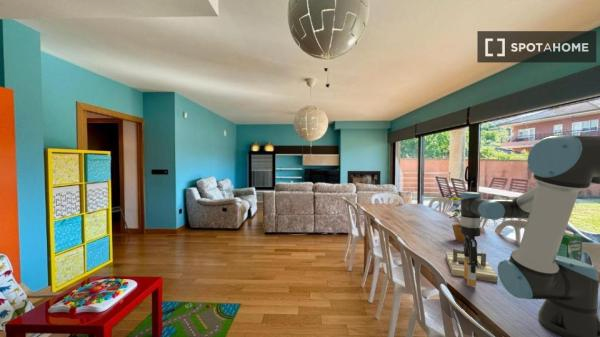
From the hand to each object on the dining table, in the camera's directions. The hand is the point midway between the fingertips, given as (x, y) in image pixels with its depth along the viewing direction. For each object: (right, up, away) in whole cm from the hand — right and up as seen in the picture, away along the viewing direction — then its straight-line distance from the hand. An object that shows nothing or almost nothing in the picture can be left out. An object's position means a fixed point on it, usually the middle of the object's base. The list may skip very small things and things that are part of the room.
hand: (469, 274), depth 115 cm
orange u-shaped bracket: (0, -3, 0) cm, 3 cm away
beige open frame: (+10, -3, +16) cm, 19 cm away
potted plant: (+36, -2, +62) cm, 72 cm away
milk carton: (+41, -4, 0) cm, 41 cm away
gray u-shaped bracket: (+10, -3, +16) cm, 19 cm away
